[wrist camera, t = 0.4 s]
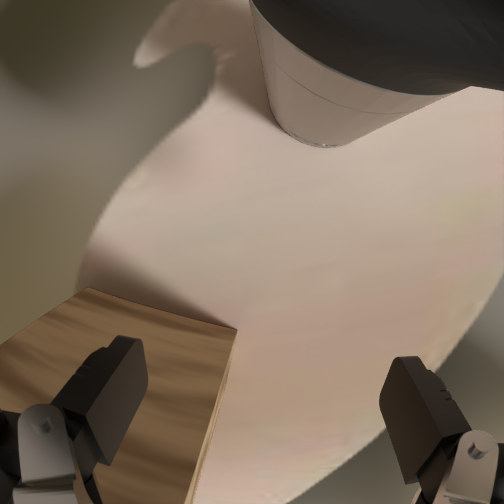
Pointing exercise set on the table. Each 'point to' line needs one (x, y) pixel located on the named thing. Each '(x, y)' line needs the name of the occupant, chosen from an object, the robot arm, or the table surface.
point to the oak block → (156, 397)
